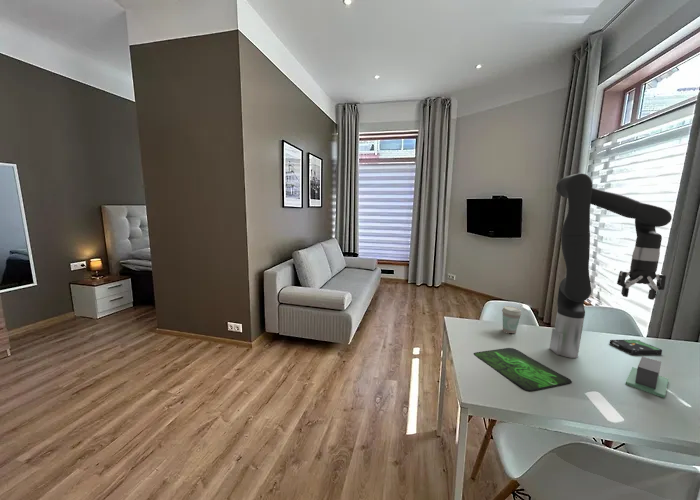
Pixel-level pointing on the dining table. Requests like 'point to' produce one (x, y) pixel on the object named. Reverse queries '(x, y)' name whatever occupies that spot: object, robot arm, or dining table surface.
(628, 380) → the green flat rectangular block
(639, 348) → the disk drive
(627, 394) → the dining table surface
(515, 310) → the coffee cup
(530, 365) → the mouse mat
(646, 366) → the block
